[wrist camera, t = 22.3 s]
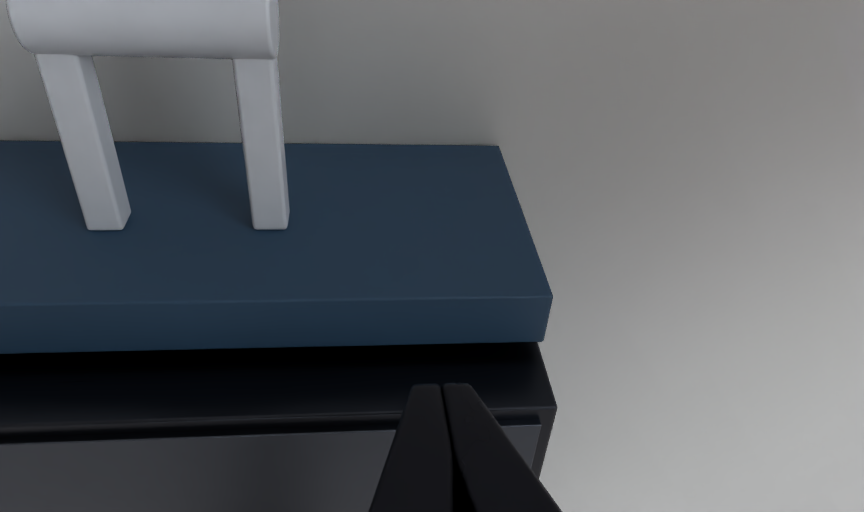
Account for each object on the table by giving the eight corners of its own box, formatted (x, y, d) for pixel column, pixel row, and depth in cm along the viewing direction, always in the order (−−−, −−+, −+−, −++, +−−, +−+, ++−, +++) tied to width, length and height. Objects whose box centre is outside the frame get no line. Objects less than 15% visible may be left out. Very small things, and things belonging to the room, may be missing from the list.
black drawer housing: (451, 496, 27) (480, 715, 21) (83, 513, 25) (-3, 756, 19) (491, 192, 18) (560, 413, 12) (-61, 190, 17) (-300, 443, 11)
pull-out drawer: (454, 480, 26) (476, 645, 21) (74, 497, 24) (6, 679, 20) (526, -61, 14) (612, 34, 10) (-192, -93, 13) (-517, 1, 8)
